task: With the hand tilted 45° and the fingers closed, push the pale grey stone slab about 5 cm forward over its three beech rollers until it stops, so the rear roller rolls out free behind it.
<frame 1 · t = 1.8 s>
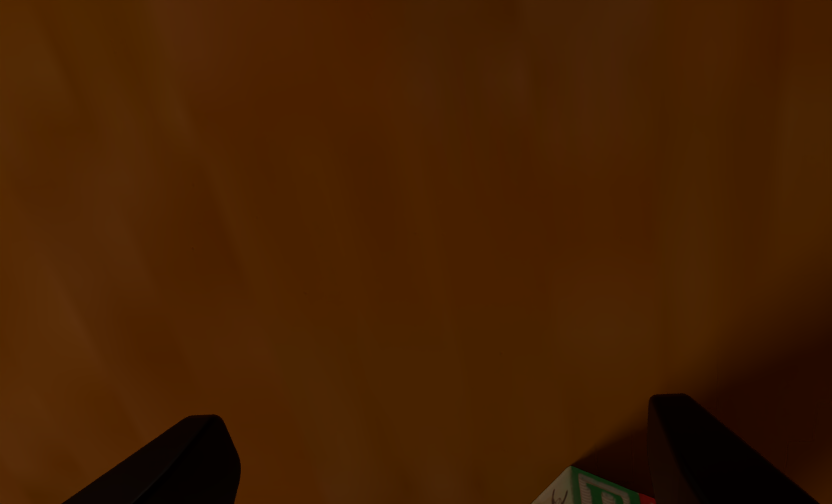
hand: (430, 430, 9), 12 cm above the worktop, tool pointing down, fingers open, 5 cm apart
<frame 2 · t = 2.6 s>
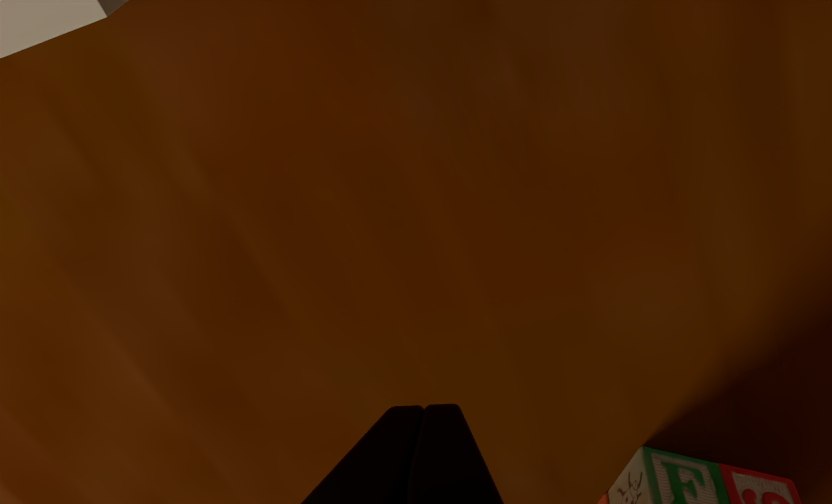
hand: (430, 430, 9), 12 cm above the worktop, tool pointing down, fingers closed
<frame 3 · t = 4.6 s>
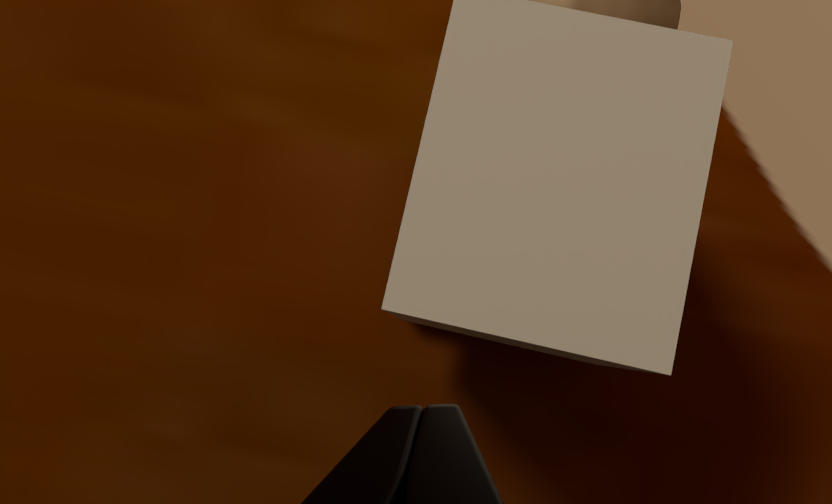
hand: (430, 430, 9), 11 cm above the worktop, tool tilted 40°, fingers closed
slab: (537, 205, 16), point 5 cm above the worktop, slide at 0.0 cm
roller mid: (557, 42, 21), on the worktop, tilted 22°
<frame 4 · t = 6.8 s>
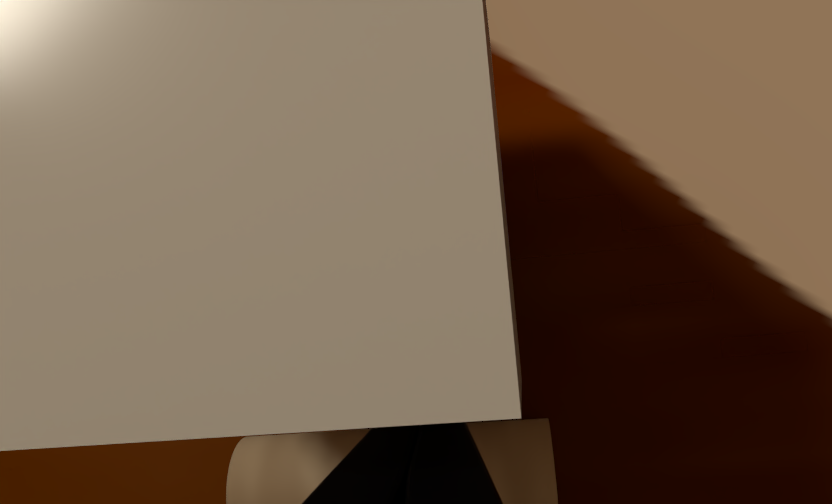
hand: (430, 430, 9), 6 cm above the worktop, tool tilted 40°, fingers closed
slab: (318, 183, 10), point 5 cm above the worktop, slide at 3.9 cm, touching gripper
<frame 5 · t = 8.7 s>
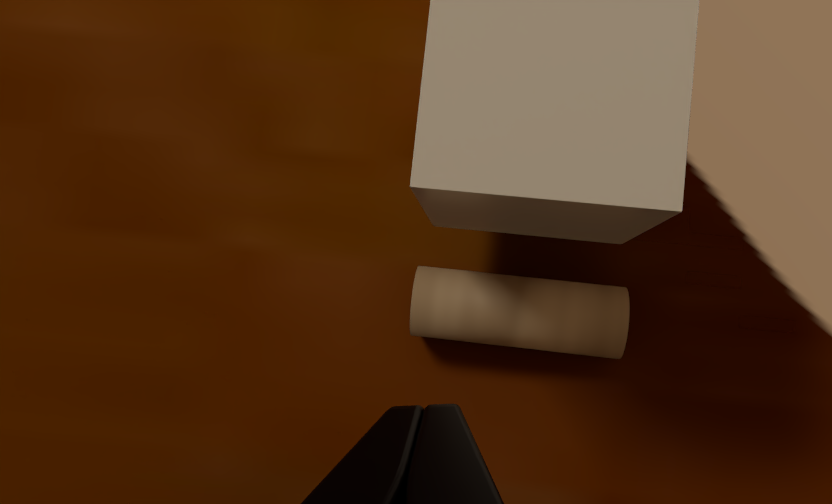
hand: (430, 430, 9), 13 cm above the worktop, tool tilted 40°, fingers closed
slab: (545, 91, 17), point 5 cm above the worktop, slide at 5.7 cm
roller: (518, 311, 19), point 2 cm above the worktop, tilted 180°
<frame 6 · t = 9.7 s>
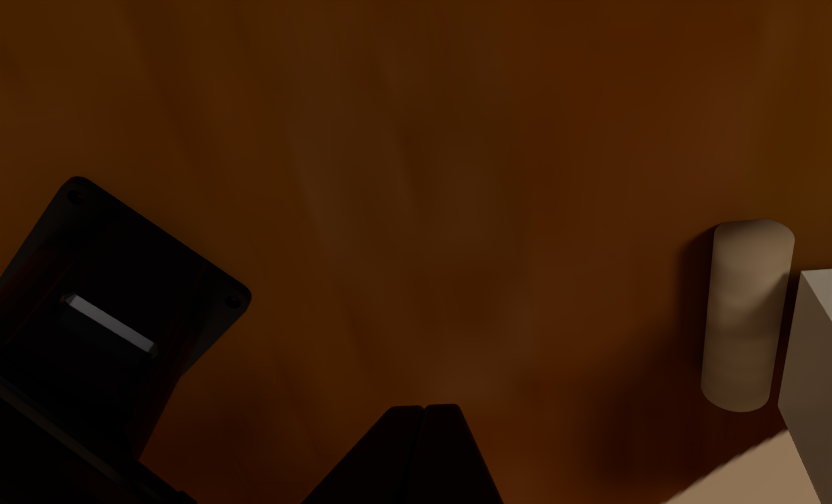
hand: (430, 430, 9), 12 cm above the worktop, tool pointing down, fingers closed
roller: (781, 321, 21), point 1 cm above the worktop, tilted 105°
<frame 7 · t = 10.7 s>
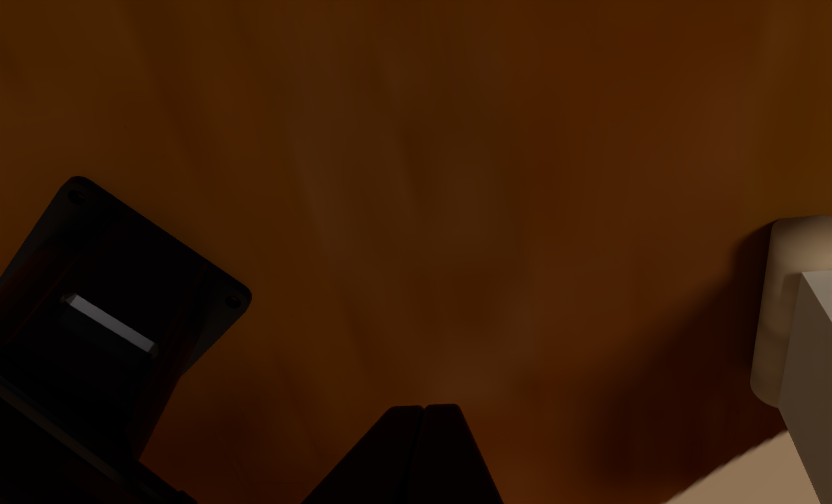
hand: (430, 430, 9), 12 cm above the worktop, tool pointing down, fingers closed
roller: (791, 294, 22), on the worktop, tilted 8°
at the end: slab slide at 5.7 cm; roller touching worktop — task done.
